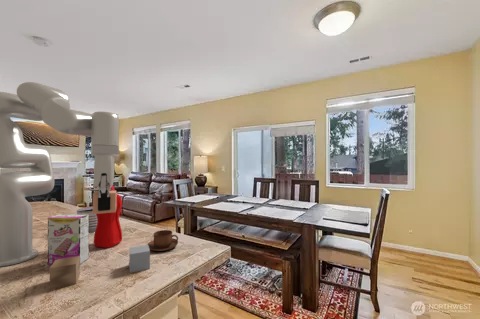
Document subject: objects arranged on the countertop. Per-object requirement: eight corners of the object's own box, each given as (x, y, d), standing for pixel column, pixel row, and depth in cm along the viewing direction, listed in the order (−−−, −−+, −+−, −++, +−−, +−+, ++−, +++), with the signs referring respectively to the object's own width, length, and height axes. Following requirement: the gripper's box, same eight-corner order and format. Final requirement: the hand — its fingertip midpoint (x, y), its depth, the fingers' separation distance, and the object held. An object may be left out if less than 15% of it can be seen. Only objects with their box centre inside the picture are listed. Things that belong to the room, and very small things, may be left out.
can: (83, 235, 105) (83, 210, 105) (72, 231, 111) (72, 207, 111) (108, 229, 114) (108, 206, 114) (96, 225, 120) (96, 203, 120)
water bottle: (112, 249, 88) (113, 187, 88) (89, 247, 91) (90, 186, 91) (128, 241, 97) (129, 185, 97) (107, 239, 100) (107, 184, 100)
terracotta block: (92, 214, 66) (92, 194, 66) (95, 210, 71) (95, 191, 71) (115, 212, 69) (115, 192, 69) (116, 208, 74) (116, 190, 74)
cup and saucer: (176, 240, 99) (176, 227, 99) (179, 251, 88) (179, 235, 88) (147, 244, 95) (147, 230, 95) (146, 255, 84) (146, 239, 84)
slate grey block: (129, 273, 71) (129, 254, 71) (129, 265, 76) (129, 247, 76) (149, 268, 73) (149, 250, 73) (148, 261, 79) (148, 244, 79)
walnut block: (49, 290, 61) (49, 268, 61) (55, 279, 67) (55, 259, 67) (76, 284, 64) (76, 263, 64) (79, 274, 69) (79, 255, 69)
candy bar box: (46, 265, 75) (46, 217, 75) (58, 259, 80) (58, 214, 80) (79, 265, 75) (80, 217, 75) (89, 258, 80) (89, 213, 80)
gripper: (94, 152, 76) (94, 204, 76) (87, 150, 61) (86, 215, 61) (119, 152, 79) (119, 202, 79) (118, 151, 64) (117, 212, 64)
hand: (105, 207), depth 70 cm, fingers closed on terracotta block, 6 cm apart
